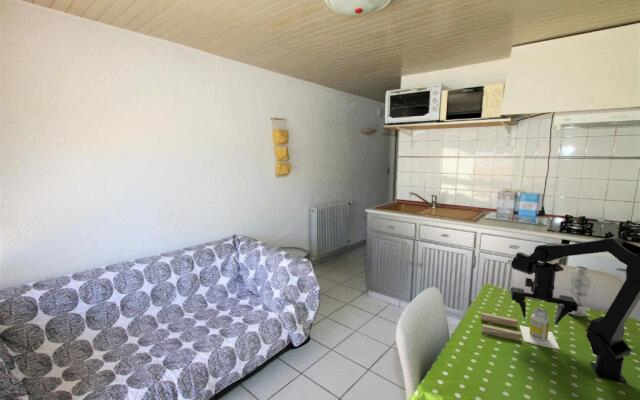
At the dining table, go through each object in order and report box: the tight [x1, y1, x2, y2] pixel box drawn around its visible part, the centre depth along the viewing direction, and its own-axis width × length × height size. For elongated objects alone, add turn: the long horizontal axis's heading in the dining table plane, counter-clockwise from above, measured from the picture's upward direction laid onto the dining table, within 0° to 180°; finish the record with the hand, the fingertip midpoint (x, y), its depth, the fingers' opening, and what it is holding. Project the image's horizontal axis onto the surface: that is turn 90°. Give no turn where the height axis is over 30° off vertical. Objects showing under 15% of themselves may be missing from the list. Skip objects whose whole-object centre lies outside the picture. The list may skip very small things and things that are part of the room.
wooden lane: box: [480, 312, 522, 342], centre depth 114 cm, size 11×12×2 cm
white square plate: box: [519, 324, 561, 351], centre depth 109 cm, size 11×10×1 cm
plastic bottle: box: [568, 265, 592, 317], centre depth 123 cm, size 6×7×20 cm
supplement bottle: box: [529, 307, 550, 340], centre depth 108 cm, size 5×5×10 cm
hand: (539, 321), depth 108 cm, fingers open, 9 cm apart
